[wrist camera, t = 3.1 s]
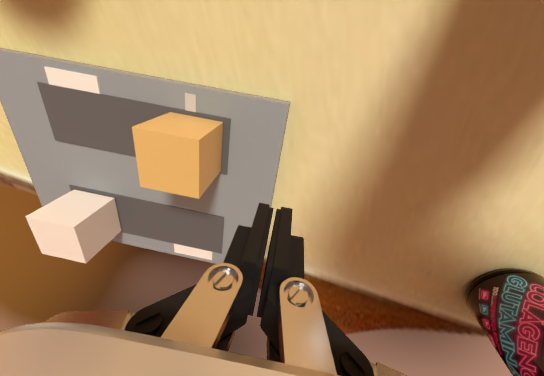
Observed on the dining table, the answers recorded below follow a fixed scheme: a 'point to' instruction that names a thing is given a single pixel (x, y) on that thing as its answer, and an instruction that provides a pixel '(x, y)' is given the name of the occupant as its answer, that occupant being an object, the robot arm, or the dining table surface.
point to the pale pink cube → (75, 225)
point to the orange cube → (178, 153)
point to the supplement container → (512, 317)
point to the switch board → (121, 151)
